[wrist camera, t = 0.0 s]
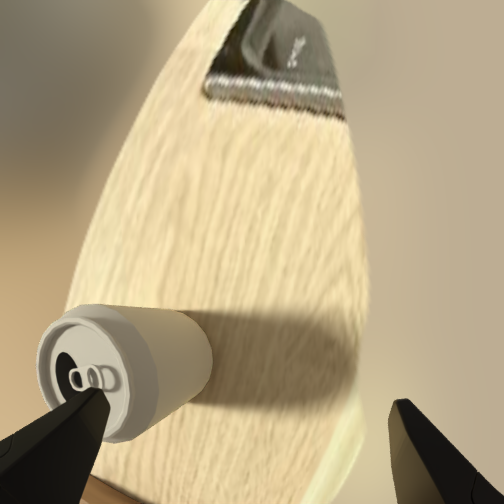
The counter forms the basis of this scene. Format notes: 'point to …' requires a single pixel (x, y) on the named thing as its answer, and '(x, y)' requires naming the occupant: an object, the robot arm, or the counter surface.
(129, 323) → the can
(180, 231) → the counter surface
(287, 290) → the counter surface
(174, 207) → the counter surface
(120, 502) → the block
